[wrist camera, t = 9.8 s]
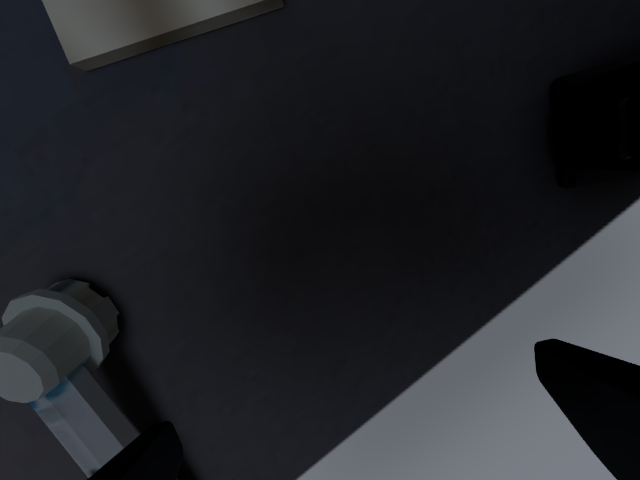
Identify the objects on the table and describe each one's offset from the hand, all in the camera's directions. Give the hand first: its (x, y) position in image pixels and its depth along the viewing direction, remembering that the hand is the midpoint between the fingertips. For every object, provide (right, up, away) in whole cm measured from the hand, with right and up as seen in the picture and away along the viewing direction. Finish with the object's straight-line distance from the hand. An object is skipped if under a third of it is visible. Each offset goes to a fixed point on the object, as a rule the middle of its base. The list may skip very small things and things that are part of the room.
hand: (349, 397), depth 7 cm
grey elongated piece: (-14, -10, +16) cm, 24 cm away
